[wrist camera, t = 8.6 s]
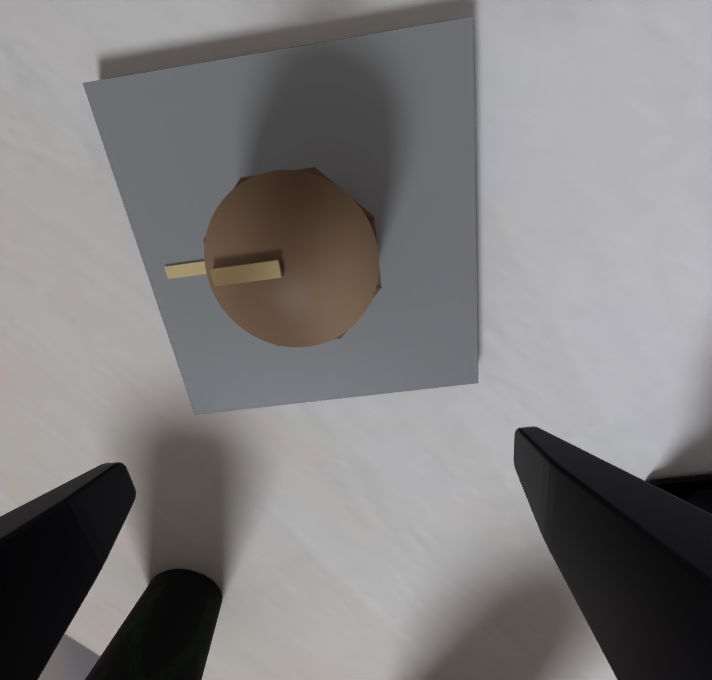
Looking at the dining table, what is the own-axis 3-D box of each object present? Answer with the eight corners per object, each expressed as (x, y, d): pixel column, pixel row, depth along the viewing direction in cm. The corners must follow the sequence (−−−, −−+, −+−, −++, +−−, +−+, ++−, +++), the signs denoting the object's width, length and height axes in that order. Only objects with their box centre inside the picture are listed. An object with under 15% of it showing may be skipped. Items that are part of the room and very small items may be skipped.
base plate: (465, 29, 14) (503, -35, 11) (472, 374, 20) (498, 413, 16) (99, 91, 15) (15, 51, 12) (202, 405, 21) (167, 447, 17)
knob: (364, 171, 15) (369, 155, 11) (379, 307, 18) (388, 339, 13) (227, 191, 16) (176, 182, 11) (258, 322, 18) (226, 359, 13)
